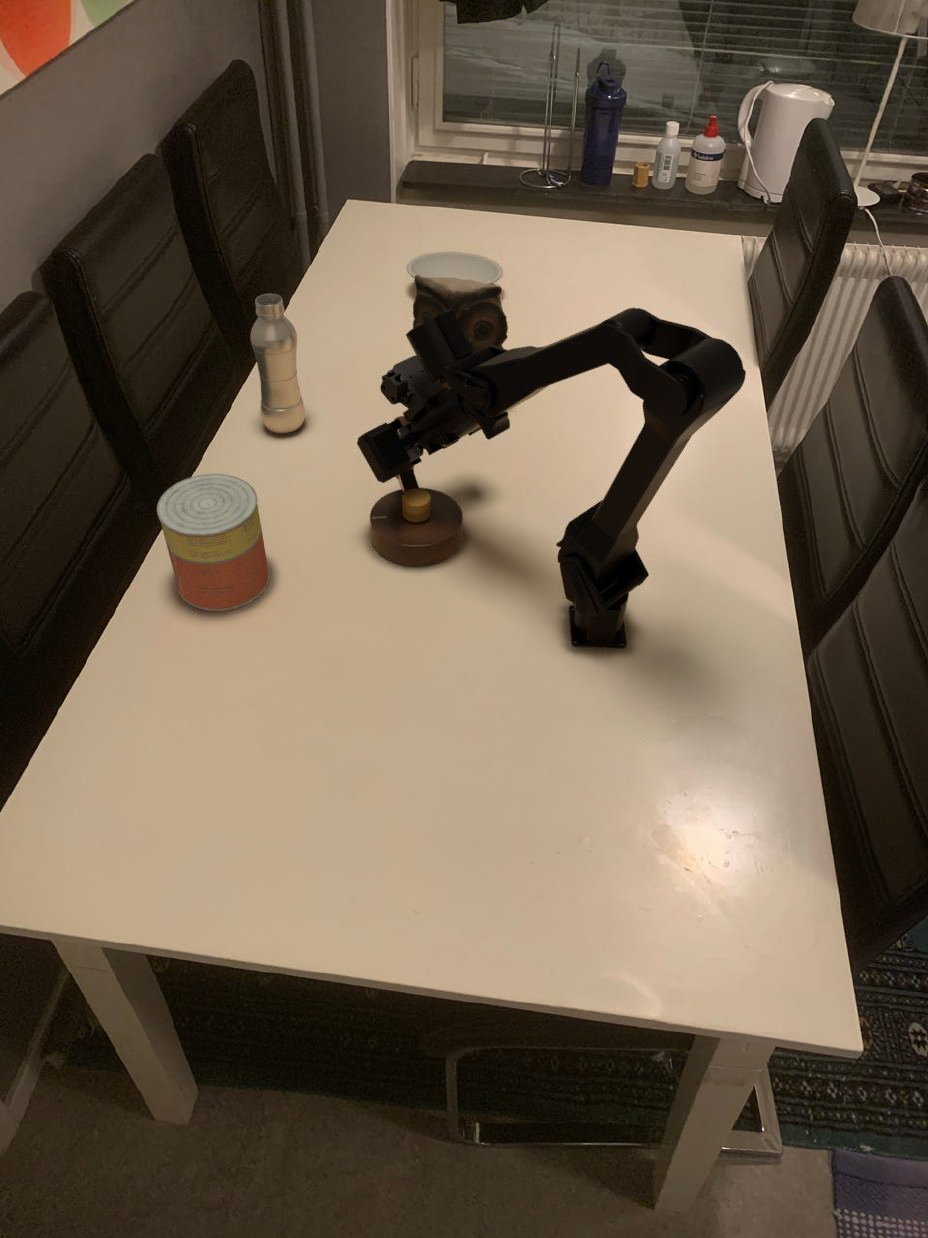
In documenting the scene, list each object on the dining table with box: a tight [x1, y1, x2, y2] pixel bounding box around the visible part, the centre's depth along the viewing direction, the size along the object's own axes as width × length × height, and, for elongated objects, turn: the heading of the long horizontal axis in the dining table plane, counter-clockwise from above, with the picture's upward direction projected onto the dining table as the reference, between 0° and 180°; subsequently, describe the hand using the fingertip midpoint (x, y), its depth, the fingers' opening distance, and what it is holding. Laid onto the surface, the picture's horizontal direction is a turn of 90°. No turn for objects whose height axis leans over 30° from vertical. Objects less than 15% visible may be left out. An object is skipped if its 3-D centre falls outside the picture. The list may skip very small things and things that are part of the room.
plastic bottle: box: [249, 293, 306, 434], centre depth 130 cm, size 6×7×20 cm
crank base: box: [369, 487, 464, 568], centre depth 119 cm, size 12×12×4 cm
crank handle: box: [393, 415, 431, 522], centre depth 117 cm, size 11×4×9 cm, turn 14°
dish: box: [405, 251, 504, 285], centre depth 167 cm, size 18×14×5 cm
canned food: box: [156, 473, 271, 612], centre depth 109 cm, size 11×11×12 cm
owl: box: [412, 275, 509, 388], centre depth 137 cm, size 13×13×20 cm
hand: (397, 449), depth 121 cm, fingers closed on crank handle, 3 cm apart
